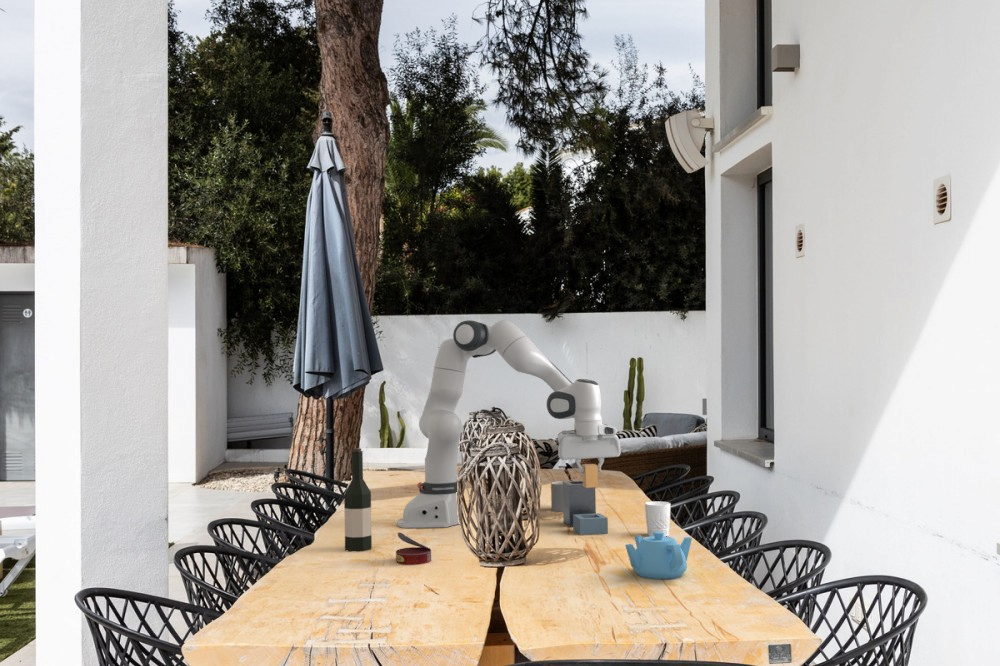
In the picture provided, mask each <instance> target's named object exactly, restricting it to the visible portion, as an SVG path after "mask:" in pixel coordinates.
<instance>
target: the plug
mask: <svg viewBox="0 0 1000 666" xmlns="http://www.w3.org/2000/svg"><path fill="white" fill-rule="evenodd" d="M581 466H582V467H585V470H584V471H585V473H581V475H582V481H583V486H584V487H586V488H591V487H595V488H599V476H598V475H599V472H598V464H596V463H586V464H581Z"/></svg>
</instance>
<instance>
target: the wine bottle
mask: <svg viewBox="0 0 1000 666" xmlns="http://www.w3.org/2000/svg"><path fill="white" fill-rule="evenodd" d="M363 453H364V451H363V450H362V448H361V447H357V448H356V447H355V448H352V451H351V481H350V482H349V485H348V487H347V488H346V490H345V493H344V495H343V496H344V498H343V499H344V507H343V508H344V551H346V550H348V551H347V552H351V551H356V552H366V551H370V550H372V548H373V547H372V545H373V544H372V543H373V542H372V541H373V540H372V491H371V489H370V488H369V486H368V485H367V483H366V482H365V480H364V473H363V472H364V470H363V469H364V466H363V465H364V464H363V463H364V461H363V459H364V458H363V455H364V454H363Z"/></svg>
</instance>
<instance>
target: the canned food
mask: <svg viewBox="0 0 1000 666" xmlns="http://www.w3.org/2000/svg"><path fill="white" fill-rule="evenodd" d="M397 536H398V538H399V539H400V540H401V541H403V542H405V543H407V544H409V545H413V546H414V547H413V546H411V547H403V548H399V549H397V550H396V551H395V563H396V564H398V565H404V566H414V565H415V566H416V565H425V564H429V563H430V562H431V561H432V549H431V548H430V547H428V546H425V545H423V544H421V543H419V542H417V541H416V540H414V539H412V538H411V537H409V536H406V535H405V534H404V533H402V532H397Z"/></svg>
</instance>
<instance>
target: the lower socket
mask: <svg viewBox="0 0 1000 666" xmlns="http://www.w3.org/2000/svg"><path fill="white" fill-rule="evenodd" d="M608 523H609V521H608V517H607V516H605V515H603V514H601V512H600V513H597V512H596V514H576V515H573V527H572V528H573V532H575V533H577V534H578V535H580V536H587V535H588V536H591V535H608V534H609V526H608V525H609V524H608Z"/></svg>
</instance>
